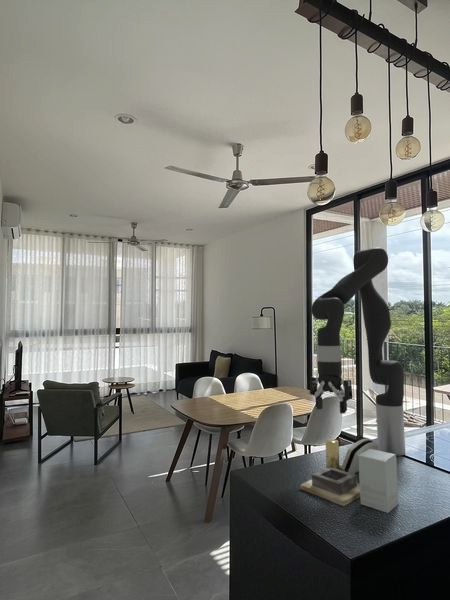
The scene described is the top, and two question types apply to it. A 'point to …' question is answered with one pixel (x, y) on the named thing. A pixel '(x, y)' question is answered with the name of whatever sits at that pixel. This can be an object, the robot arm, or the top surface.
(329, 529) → the top surface
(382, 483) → the supplement box
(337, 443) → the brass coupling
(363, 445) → the white black curved block
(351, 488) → the socket board
